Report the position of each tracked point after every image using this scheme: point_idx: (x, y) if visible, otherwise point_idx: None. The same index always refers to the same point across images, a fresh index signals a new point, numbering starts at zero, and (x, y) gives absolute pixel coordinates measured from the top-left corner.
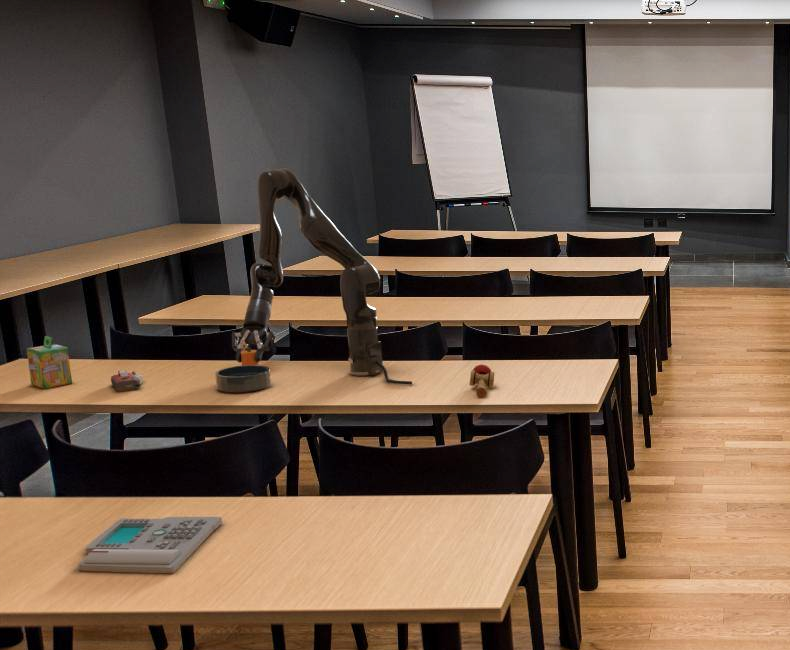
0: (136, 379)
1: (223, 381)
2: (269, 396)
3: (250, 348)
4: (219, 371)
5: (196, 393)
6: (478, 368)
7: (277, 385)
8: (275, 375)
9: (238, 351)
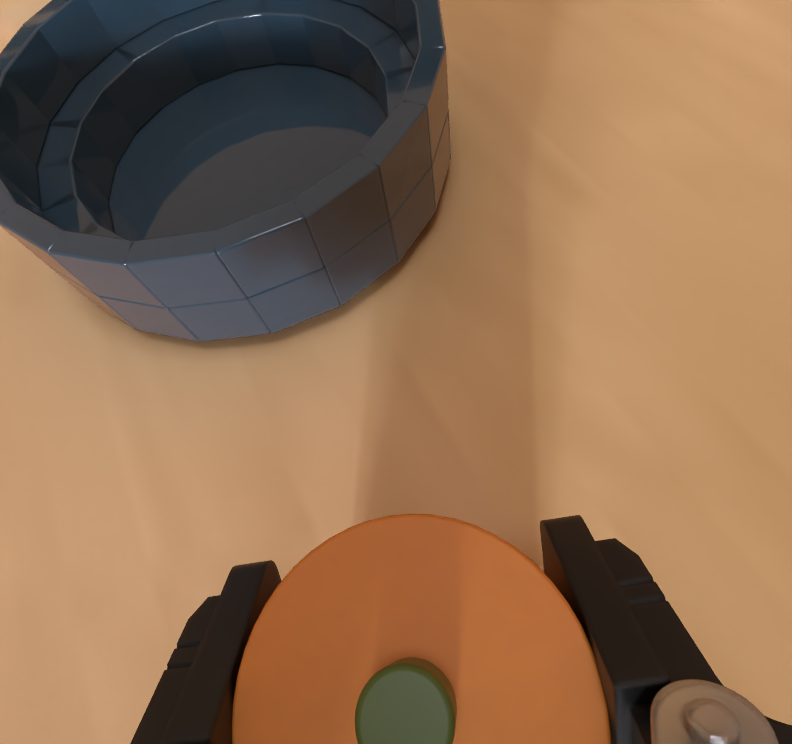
0: None
1: None
2: None
3: (357, 721)
4: (415, 11)
5: (510, 10)
6: None
7: (28, 268)
8: (121, 602)
9: (640, 630)
